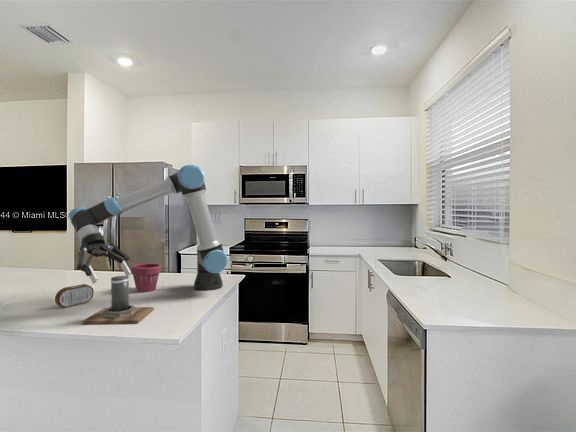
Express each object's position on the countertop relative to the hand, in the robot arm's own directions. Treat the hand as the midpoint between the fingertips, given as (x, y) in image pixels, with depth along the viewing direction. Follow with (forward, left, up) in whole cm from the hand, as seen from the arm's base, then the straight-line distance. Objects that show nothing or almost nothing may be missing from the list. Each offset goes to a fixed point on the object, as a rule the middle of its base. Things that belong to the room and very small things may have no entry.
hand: (113, 278), depth 127 cm
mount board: (-3, +2, -15) cm, 15 cm away
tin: (+24, -15, -15) cm, 32 cm away
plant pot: (+3, -40, -15) cm, 43 cm away
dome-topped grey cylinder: (-3, +2, -13) cm, 14 cm away
